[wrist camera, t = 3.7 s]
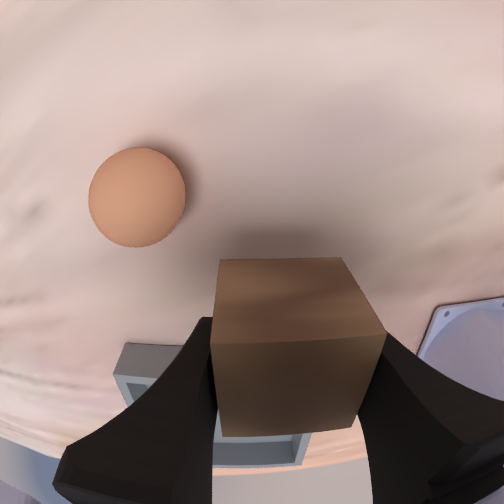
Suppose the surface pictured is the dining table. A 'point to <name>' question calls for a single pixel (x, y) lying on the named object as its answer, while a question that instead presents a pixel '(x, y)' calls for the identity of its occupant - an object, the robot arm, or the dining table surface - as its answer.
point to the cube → (291, 346)
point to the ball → (137, 197)
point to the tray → (224, 448)
